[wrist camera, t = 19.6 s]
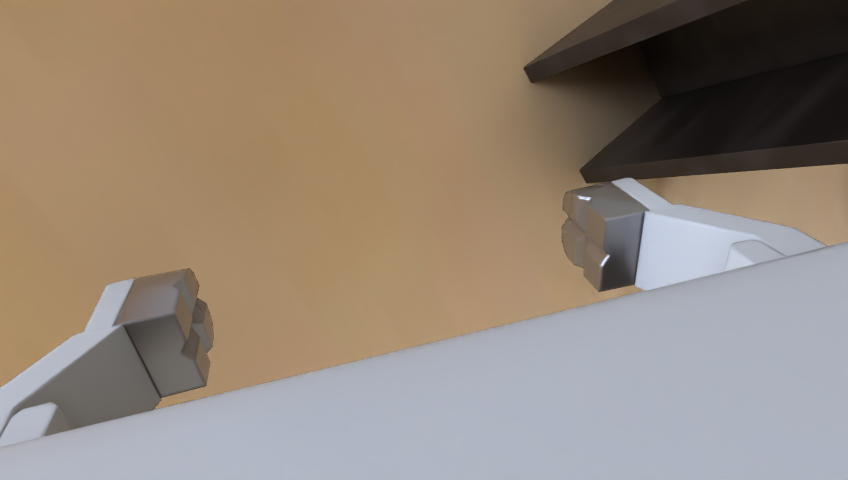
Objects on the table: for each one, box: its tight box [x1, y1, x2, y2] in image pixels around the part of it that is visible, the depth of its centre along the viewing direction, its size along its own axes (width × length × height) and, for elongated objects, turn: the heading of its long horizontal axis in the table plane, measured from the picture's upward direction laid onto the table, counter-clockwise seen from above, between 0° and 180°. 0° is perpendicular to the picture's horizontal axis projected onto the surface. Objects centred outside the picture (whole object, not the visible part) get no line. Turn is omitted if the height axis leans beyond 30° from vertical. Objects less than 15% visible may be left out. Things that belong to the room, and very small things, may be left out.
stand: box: [524, 0, 848, 183], centre depth 36 cm, size 12×14×26 cm
